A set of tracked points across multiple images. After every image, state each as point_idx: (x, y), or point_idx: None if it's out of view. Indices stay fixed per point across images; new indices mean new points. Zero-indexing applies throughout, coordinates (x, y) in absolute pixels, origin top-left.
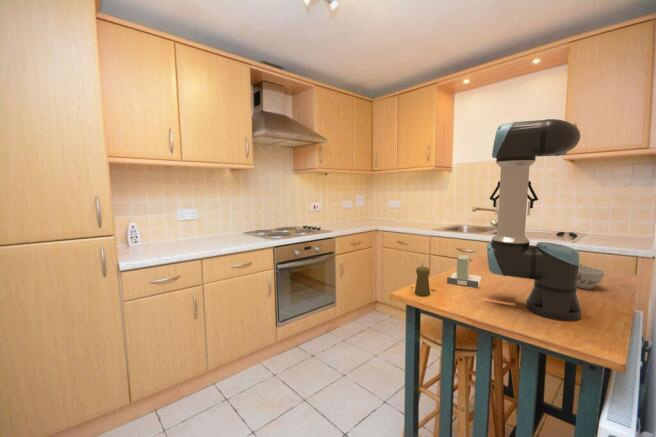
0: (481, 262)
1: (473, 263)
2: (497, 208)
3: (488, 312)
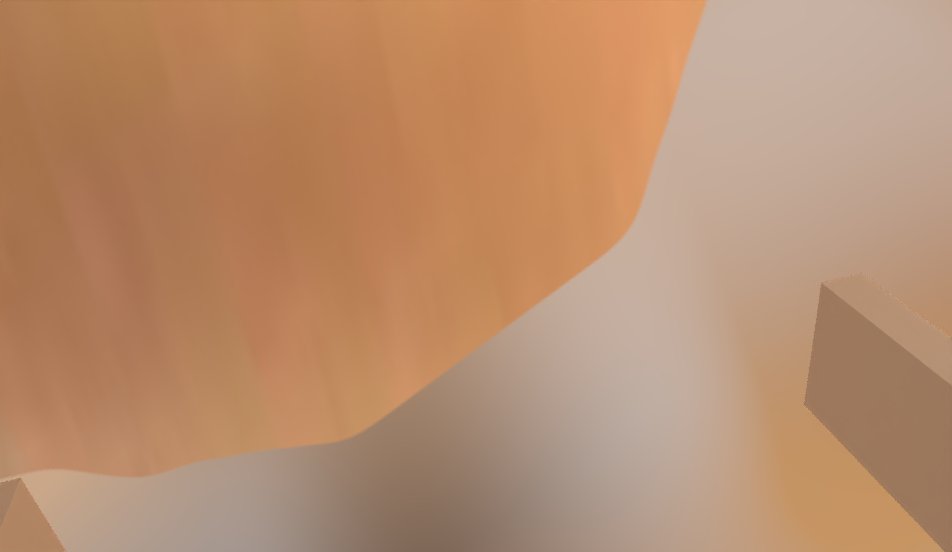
0: (596, 162)
1: (655, 77)
2: (916, 482)
3: None
